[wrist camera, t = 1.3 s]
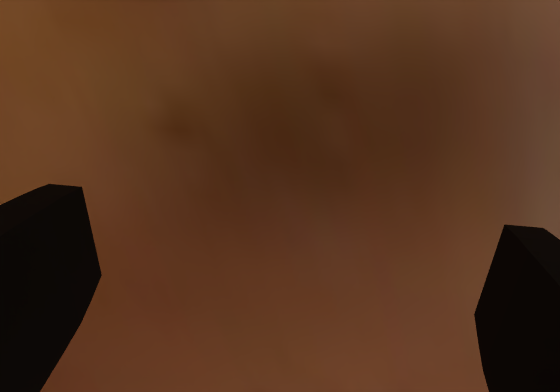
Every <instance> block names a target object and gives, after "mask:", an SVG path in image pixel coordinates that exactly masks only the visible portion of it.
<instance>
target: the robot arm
mask: <svg viewBox="0 0 560 392" xmlns="http://www.w3.org/2000/svg"><path fill="white" fill-rule="evenodd" d="M100 278H101V270H100V266H99V261H98V257H97V252H96V248H95V243H94V239H93V234H92V230H91V226H90V221H89V217H88V212H87V208H86V203H85V199H84V194H83V190H82V187H77V186H66V185H55V184H48V185H45V186H42V187H40V188H37V189H35V190H32V191H30V192H28V193H25V194H23V195H21V196H19V197H16V198H14V199H12V200H10V201H8V202H6V203H4V204H2V205H0V392H40V390H41V389H42V387H43V386H44V384H45V382H46V381H47V379H48V377H49V376H50V374H51V373H52V371H53V369H54V368H55V366H56V364H57V363H58V361H59V359H60V358H61V356H62V354H63V353H64V351H65V349H66V348H67V346H68V344H69V343H70V341H71V339H72V338H73V336H74V334H75V333H76V331H77V329H78V327H79V326H80V324H81V322H82V320H83V317H84V315H85V313H86V311H87V309H88V306H89V304H90V302H91V300H92V297H93V295H94V292H95V290H96V288H97V285H98V283H99V280H100ZM474 316H475V323H476V330H477V337H478V344H479V350H480V355H481V361H482V367H483V372H484V375H485V379H486V383H487V386H488V390H489V392H560V240H559V239H558V238H557V237H555V236H554V235H553V234H551V233H550V232H548V231H547V230H546V229H544V228H537V227H526V226H514V225H504V228H503V231H502V234H501V237H500V239H499V242H498V245H497V248H496V251H495V254H494V257H493V260H492V263H491V266H490V269H489V272H488V275H487V278H486V281H485V284H484V287H483V290H482V293H481V296H480V299H479V302H478V305H477V308H476V311H475V314H474Z"/></svg>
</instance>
